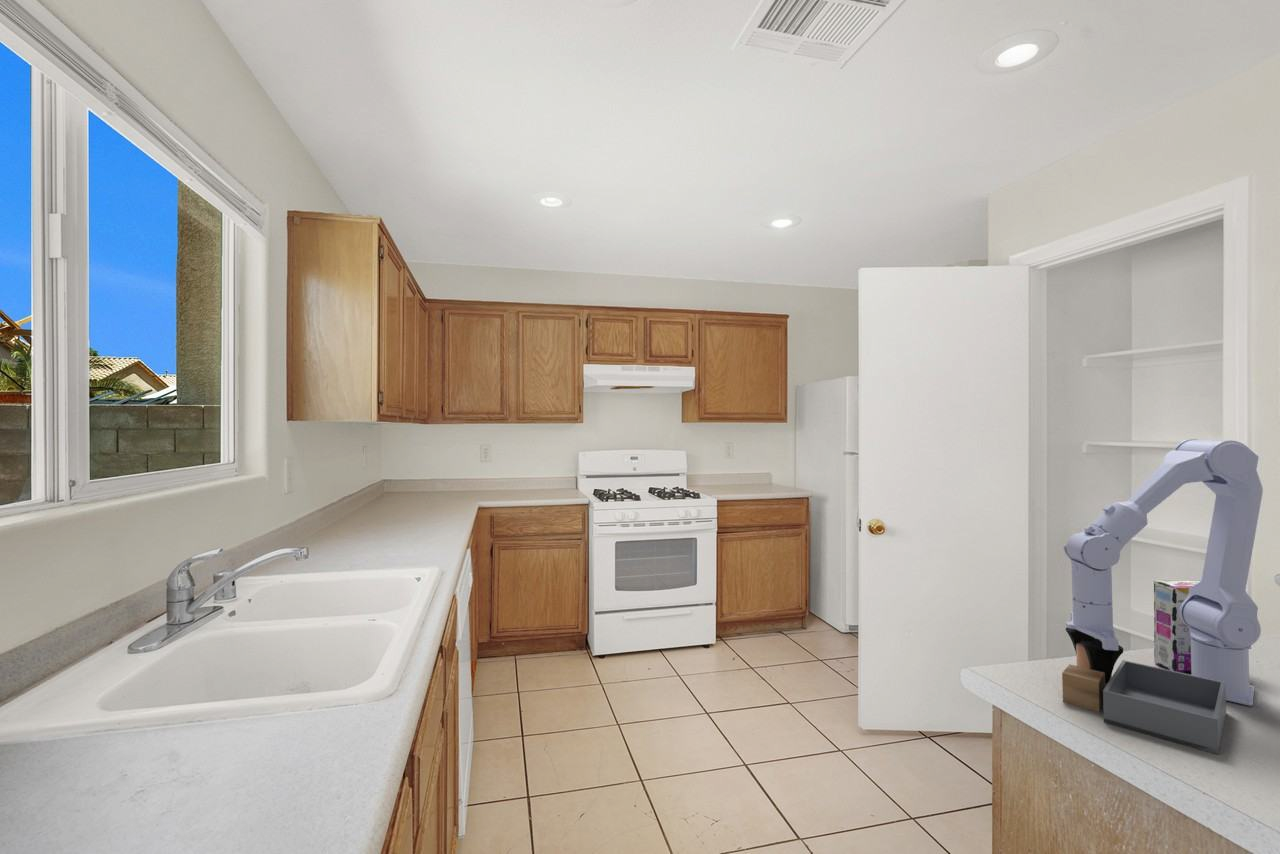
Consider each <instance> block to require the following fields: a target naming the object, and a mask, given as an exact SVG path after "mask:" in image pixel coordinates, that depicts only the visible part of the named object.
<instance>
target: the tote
mask: <svg viewBox="0 0 1280 854" xmlns="http://www.w3.org/2000/svg"><path fill="white" fill-rule="evenodd" d="M1102 708H1103V709H1102V710H1103V723H1106V724H1109V725H1113V726H1116V727H1121V728H1124V729H1128V730H1131V731H1134V732H1138V733H1140V734H1145V735H1148V736H1152V737H1155V738H1159V739H1162V740H1165V741H1170V742H1172V741H1173V743H1176V744H1179V743H1181V744H1180V745H1183V744H1185V745H1184V746H1186V745H1188V746H1187V747H1190V746H1191V747H1190V748H1193V747H1194V749H1197V748H1198V750H1202V751H1205V752H1209V753H1212V754H1215V755H1217V756H1218V755H1219V754H1220V749H1221V744H1222V738H1223V732H1224V727H1225V723H1226V722H1225V721H1226V717H1227V700H1226V682H1222V681H1217V680H1212V679H1208V678H1203V677H1199V676H1194V675H1191V674H1189V673H1180V672H1176V671H1171V670H1168V669H1165V668H1163V667H1162V668H1161V667H1157V666H1151V665H1147V664H1144V663H1143V664H1142V663H1138V662H1133V661H1129V660H1125V659H1123V660H1121V662H1120V663H1119V665H1118V666H1117V668H1116V669H1115V671H1114V673H1112V678H1111V679H1110V681H1109V682H1108V684H1107V685H1106V687H1105V688H1104V690H1103V707H1102Z"/></svg>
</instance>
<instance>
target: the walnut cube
mask: <svg viewBox="0 0 1280 854" xmlns="http://www.w3.org/2000/svg"><path fill="white" fill-rule="evenodd" d="M1061 674H1062V675H1061V679H1062V681H1061V683H1062V702H1064V703H1067V704H1071V705H1074V706H1078V707H1082V708H1084V709H1085V708H1086V709H1089V710H1093V711H1096V712H1101V710H1102V708H1103V707H1102V706H1103V690H1104V688H1105V673H1104V672H1100V671H1096V670H1091V669H1087V668H1083V667H1079V666H1077V665H1073V664H1068V665H1067V667H1066V668H1065V669H1064V670H1063V671H1062V672H1061Z"/></svg>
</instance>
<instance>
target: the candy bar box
mask: <svg viewBox="0 0 1280 854" xmlns="http://www.w3.org/2000/svg"><path fill="white" fill-rule="evenodd" d="M1200 581H1201V580H1154V581H1153V613H1154V614H1153V619H1154V622H1153V623H1154V625H1153V628H1154V629H1153V630H1154V633H1153V634H1154V635H1153V637H1154V638H1153V639H1154V642H1153V646H1154V649H1153V650H1154V651H1153V654H1154V660H1153V661H1154V664H1156V665H1157V666H1160V667H1162V668H1163V669H1166V670H1171V671H1176V672H1180V673H1185V674H1189V673H1190V674H1191V636H1190V633H1189V627H1188V626H1187V625H1186V624H1184V622H1183V621H1182V620H1181V617H1180V614H1179V610H1180V606H1181V604H1182V603H1183V602H1184V600H1185V599H1186V598H1187V596H1188V593H1189V588H1190V587H1192V586H1194V585H1195V584H1197V583H1199V582H1200Z"/></svg>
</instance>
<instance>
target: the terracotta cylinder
mask: <svg viewBox="0 0 1280 854" xmlns="http://www.w3.org/2000/svg"><path fill="white" fill-rule="evenodd" d="M1075 655H1076V666H1079V667H1083V668H1087V669H1090V664H1089V659H1088V656H1087V653H1086V651H1085V649H1084V647H1083V645H1082V643H1077V644H1076V651H1075ZM1112 676H1113V673H1112V674H1111V678H1112ZM1111 678H1110V679H1111ZM1106 685H1107V684H1106V683H1105V687H1106Z"/></svg>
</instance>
